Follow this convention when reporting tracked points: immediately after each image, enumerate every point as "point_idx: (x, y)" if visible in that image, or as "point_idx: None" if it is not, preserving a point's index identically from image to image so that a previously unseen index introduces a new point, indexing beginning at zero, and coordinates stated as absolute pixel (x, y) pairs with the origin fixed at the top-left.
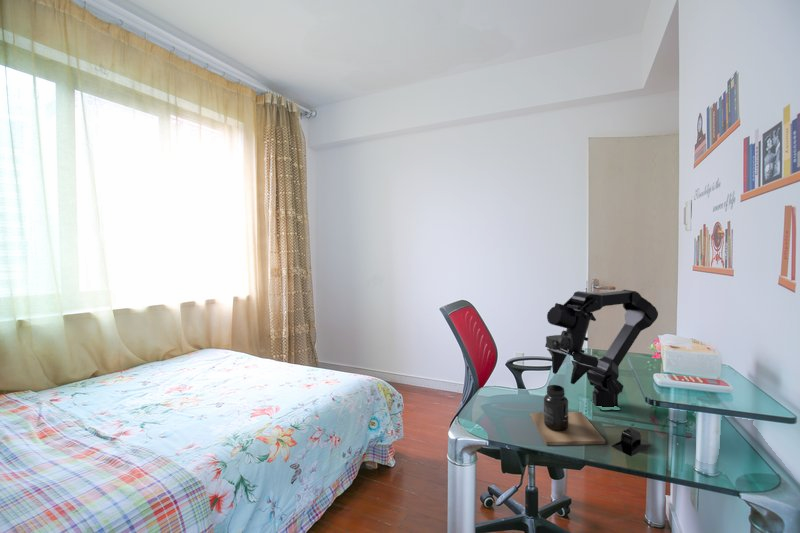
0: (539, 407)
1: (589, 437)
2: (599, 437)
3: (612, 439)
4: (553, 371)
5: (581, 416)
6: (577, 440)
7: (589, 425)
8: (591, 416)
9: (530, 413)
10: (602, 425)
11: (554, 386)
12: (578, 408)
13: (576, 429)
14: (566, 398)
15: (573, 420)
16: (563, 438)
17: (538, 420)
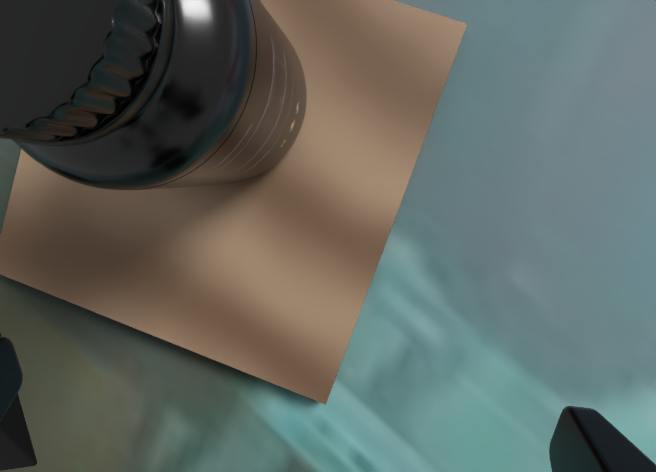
0: (555, 190)
1: (44, 210)
2: (27, 266)
3: (34, 340)
4: (583, 426)
5: (270, 357)
6: None
7: (155, 315)
8: (285, 437)
9: (464, 23)
10: (171, 410)
11: (36, 5)
12: (411, 445)
13: (143, 200)
14: (26, 147)
15: (245, 266)
16: None
17: (341, 19)
